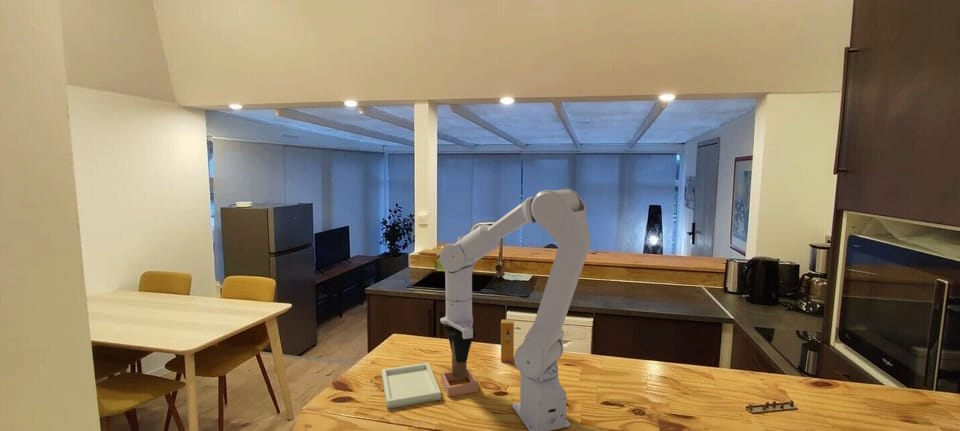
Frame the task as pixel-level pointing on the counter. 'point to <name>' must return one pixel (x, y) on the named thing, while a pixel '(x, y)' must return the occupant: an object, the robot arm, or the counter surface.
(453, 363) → the dowel
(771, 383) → the counter surface
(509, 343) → the supplement box
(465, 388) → the holder
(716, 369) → the counter surface
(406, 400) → the tray
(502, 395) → the counter surface
